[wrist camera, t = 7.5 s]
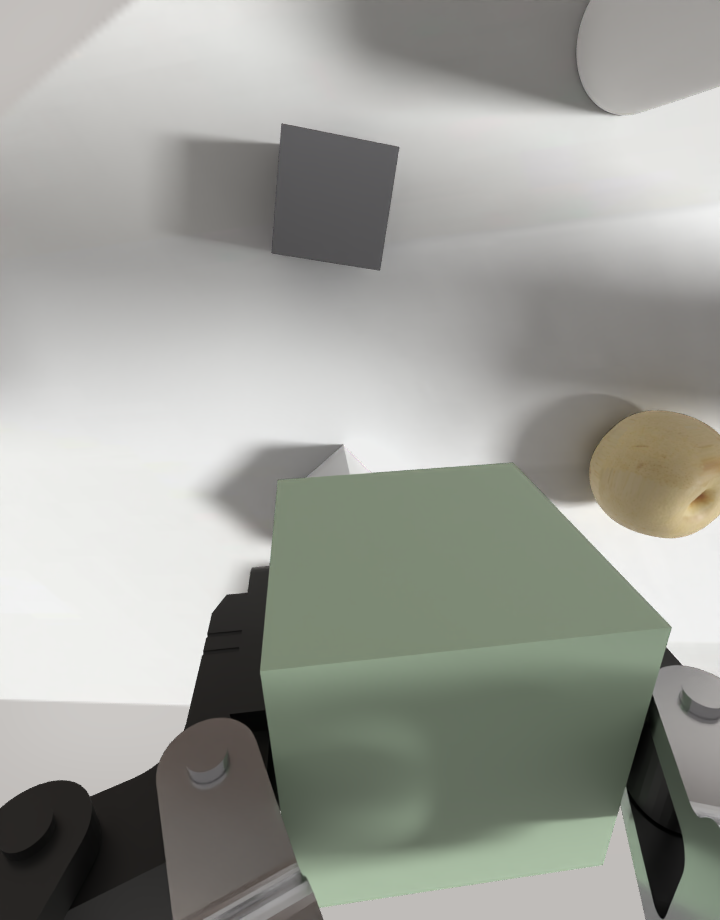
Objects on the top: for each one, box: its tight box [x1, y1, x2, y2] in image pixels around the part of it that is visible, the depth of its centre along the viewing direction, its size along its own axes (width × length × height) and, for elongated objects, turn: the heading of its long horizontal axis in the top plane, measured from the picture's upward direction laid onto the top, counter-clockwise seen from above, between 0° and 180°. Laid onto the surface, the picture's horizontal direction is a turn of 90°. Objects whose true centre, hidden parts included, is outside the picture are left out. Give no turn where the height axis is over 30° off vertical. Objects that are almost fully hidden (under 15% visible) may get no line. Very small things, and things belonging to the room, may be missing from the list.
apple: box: [589, 411, 720, 538], centre depth 32 cm, size 8×8×8 cm
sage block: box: [260, 463, 672, 908], centre depth 9 cm, size 5×5×5 cm
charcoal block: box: [272, 124, 399, 270], centre depth 24 cm, size 5×5×5 cm
